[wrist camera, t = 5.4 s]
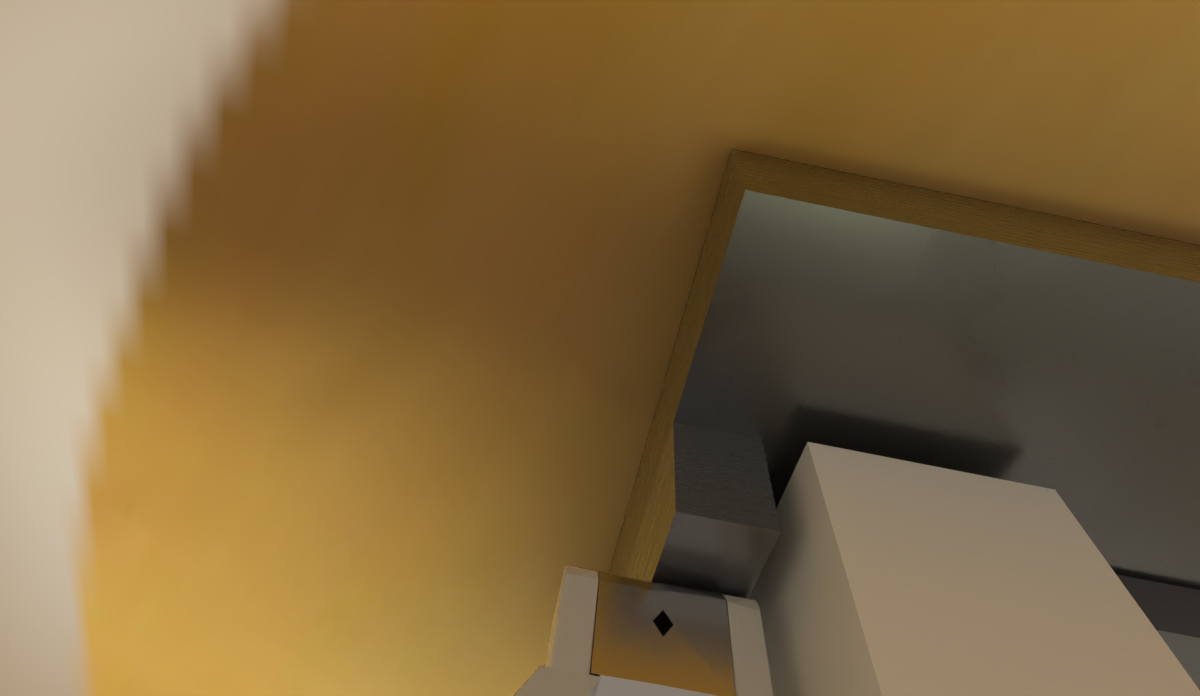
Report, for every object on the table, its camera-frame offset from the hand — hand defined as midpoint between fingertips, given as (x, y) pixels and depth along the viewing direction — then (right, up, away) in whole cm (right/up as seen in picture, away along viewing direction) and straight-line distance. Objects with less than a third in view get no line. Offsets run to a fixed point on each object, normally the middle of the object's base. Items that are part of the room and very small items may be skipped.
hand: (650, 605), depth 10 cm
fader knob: (+4, 0, +1) cm, 4 cm away
